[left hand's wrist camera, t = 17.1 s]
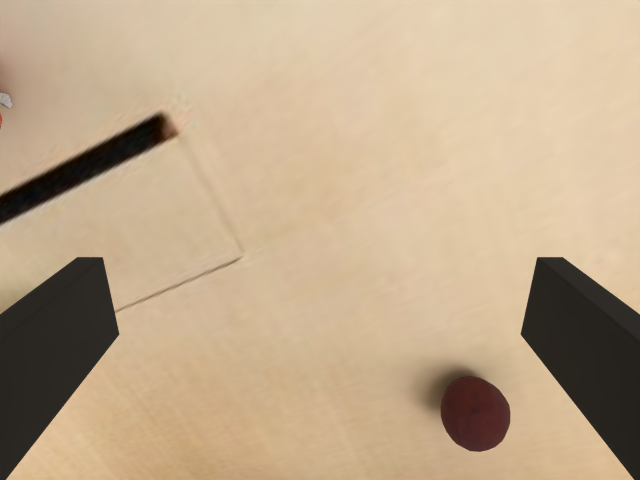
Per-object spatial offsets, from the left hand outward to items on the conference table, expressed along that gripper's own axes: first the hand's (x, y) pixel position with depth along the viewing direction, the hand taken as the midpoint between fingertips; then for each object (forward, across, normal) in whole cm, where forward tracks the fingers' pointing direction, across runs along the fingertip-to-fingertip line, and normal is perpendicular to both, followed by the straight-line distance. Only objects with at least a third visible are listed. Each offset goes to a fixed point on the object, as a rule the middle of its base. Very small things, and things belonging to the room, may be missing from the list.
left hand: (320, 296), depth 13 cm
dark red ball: (+27, +17, -28) cm, 43 cm away
